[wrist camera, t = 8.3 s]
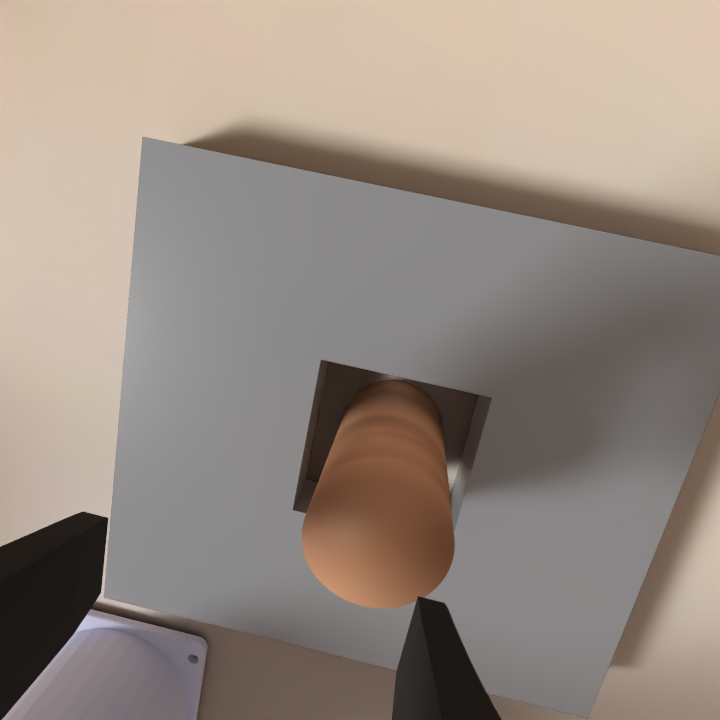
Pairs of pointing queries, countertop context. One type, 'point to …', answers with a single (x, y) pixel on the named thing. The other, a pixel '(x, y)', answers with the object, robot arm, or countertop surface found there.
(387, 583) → the peg
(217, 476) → the socket plate
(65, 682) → the robot arm
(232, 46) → the countertop surface
